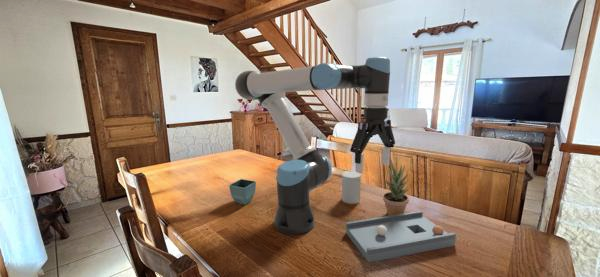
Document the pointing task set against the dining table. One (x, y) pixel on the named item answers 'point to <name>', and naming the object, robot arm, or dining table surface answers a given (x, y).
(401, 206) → the potted plant
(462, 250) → the dining table surface
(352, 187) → the cup
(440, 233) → the rust ball
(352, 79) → the robot arm
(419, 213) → the tray
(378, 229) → the ball
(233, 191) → the flower pot
